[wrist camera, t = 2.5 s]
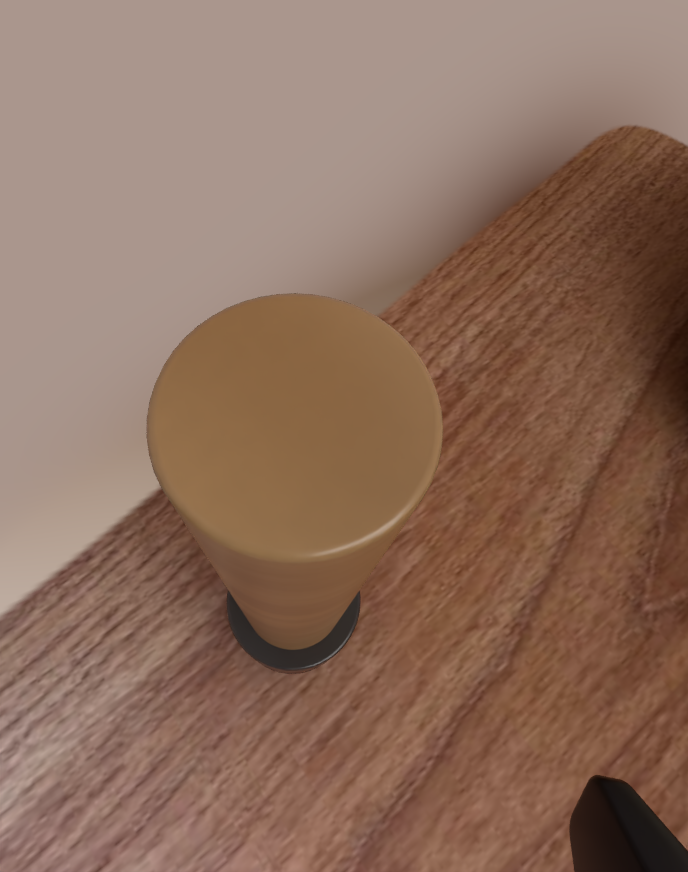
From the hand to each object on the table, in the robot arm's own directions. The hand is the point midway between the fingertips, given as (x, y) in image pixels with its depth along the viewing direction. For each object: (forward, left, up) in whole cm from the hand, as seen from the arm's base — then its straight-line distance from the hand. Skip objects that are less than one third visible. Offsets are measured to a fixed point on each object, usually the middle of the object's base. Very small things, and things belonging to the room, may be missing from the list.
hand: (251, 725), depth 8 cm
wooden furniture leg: (+2, +1, -11) cm, 11 cm away
